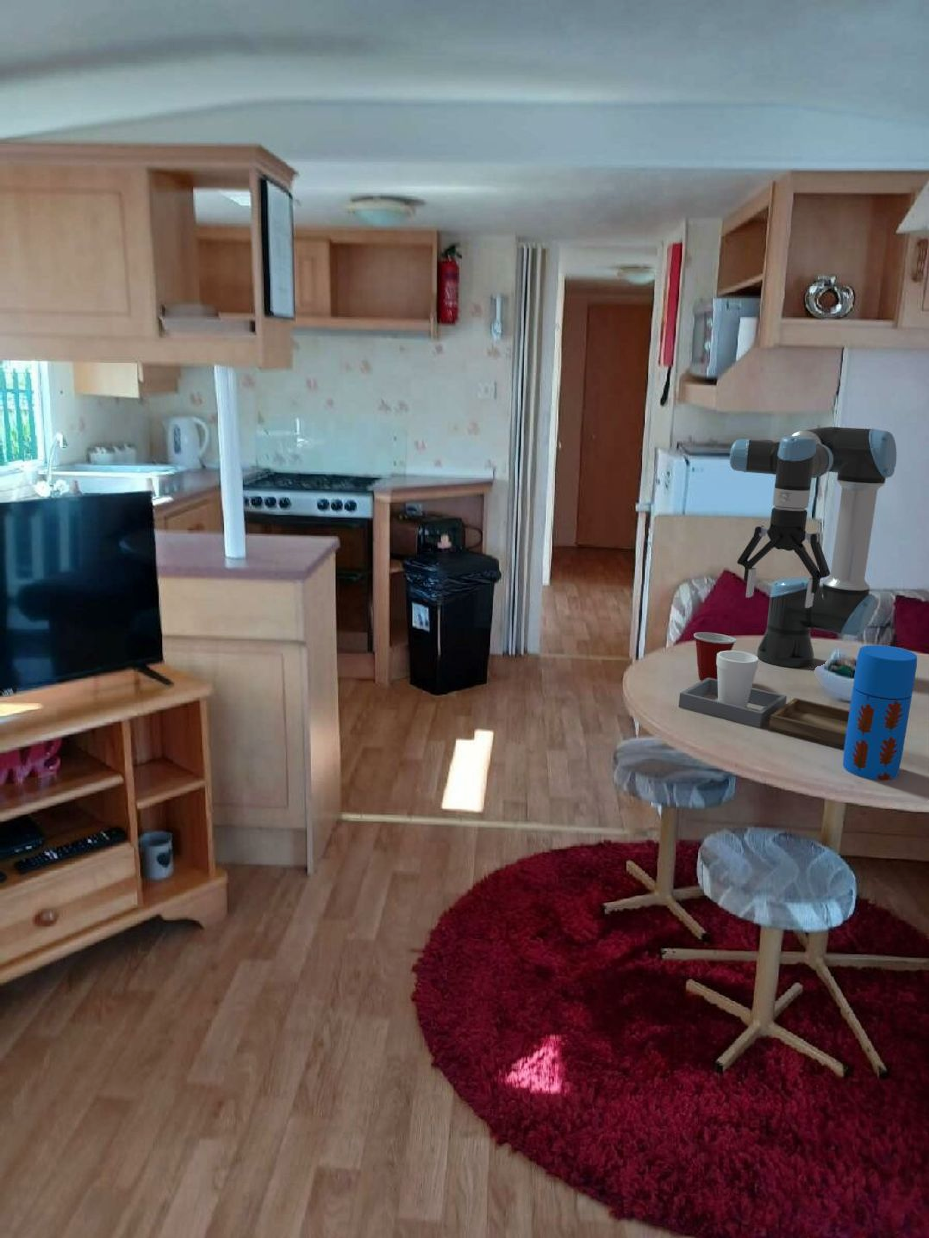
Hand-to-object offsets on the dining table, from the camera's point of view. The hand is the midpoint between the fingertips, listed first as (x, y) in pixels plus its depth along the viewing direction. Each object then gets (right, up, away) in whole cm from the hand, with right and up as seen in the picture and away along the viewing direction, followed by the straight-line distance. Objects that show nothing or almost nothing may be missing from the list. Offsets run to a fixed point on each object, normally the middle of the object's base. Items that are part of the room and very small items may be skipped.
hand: (778, 601), depth 215 cm
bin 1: (-7, -25, +12) cm, 29 cm away
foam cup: (-7, -26, +12) cm, 29 cm away
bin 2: (+10, -29, -1) cm, 31 cm away
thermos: (+12, -35, -20) cm, 42 cm away
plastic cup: (-7, -20, +33) cm, 39 cm away
